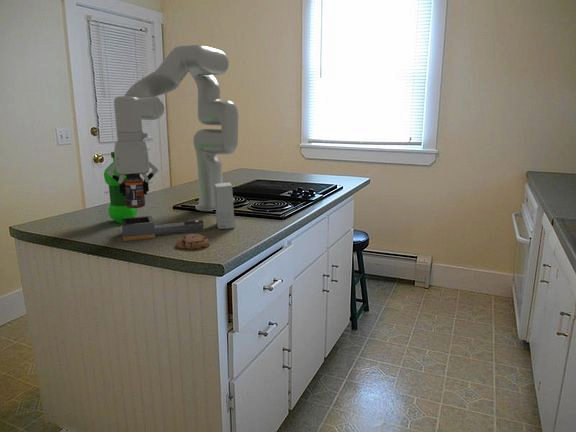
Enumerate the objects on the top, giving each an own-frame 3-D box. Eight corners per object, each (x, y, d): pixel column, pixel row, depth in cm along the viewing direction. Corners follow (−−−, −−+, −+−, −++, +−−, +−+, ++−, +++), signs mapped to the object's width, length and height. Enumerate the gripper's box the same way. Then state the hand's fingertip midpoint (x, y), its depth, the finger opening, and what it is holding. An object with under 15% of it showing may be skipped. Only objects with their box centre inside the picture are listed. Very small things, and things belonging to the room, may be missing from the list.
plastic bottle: (124, 216, 175) (118, 149, 168) (144, 219, 169) (138, 151, 163) (102, 222, 166) (95, 152, 160) (122, 226, 161) (115, 154, 155)
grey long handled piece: (200, 225, 162) (199, 211, 160) (205, 232, 153) (204, 218, 152) (122, 232, 153) (121, 218, 152) (123, 241, 144) (121, 225, 143)
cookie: (199, 252, 134) (199, 243, 133) (169, 248, 138) (168, 238, 137) (217, 243, 143) (216, 233, 142) (188, 239, 147) (187, 230, 146)
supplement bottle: (139, 209, 144) (136, 173, 141) (122, 208, 145) (118, 172, 143) (148, 205, 150) (146, 170, 147) (132, 204, 151) (129, 170, 148)
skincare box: (235, 228, 158) (233, 185, 154) (217, 229, 156) (215, 186, 153) (232, 222, 166) (230, 181, 162) (215, 223, 164) (213, 182, 161)
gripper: (157, 136, 149) (161, 190, 153) (100, 137, 143) (105, 194, 147) (160, 137, 142) (163, 195, 146) (99, 139, 136) (105, 199, 140)
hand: (134, 194), depth 147 cm, fingers closed on supplement bottle, 6 cm apart
